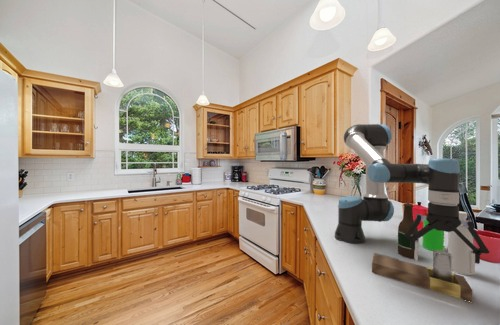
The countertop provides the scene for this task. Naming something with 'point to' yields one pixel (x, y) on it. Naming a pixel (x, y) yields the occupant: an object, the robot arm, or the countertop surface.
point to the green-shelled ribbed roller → (433, 238)
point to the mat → (386, 256)
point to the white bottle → (460, 248)
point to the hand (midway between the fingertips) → (442, 265)
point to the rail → (421, 277)
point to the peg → (442, 265)
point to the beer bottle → (404, 225)
